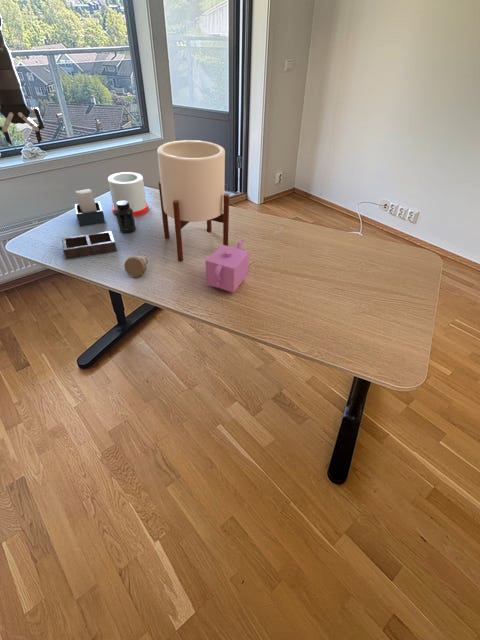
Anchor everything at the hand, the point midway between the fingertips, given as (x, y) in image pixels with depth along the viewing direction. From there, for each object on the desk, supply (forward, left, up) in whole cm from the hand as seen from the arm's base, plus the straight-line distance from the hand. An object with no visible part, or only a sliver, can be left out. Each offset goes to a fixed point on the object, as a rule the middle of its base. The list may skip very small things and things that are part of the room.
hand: (25, 143), depth 118 cm
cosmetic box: (+14, +9, -34) cm, 38 cm away
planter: (+50, -27, -34) cm, 67 cm away
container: (+32, +14, -34) cm, 49 cm away
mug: (+25, -38, -34) cm, 57 cm away
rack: (+11, -17, -34) cm, 40 cm away
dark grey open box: (+14, +9, -34) cm, 38 cm away
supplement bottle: (+27, -6, -34) cm, 44 cm away
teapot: (+53, -55, -34) cm, 84 cm away
